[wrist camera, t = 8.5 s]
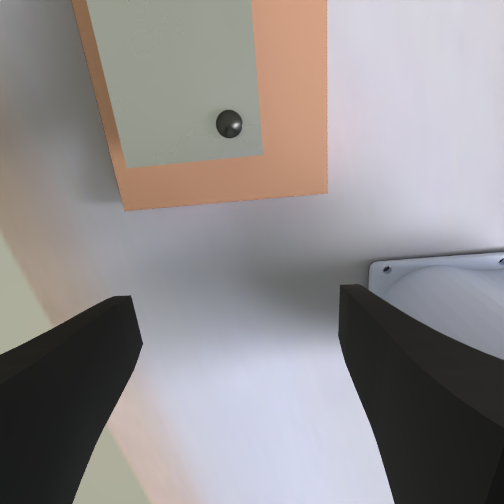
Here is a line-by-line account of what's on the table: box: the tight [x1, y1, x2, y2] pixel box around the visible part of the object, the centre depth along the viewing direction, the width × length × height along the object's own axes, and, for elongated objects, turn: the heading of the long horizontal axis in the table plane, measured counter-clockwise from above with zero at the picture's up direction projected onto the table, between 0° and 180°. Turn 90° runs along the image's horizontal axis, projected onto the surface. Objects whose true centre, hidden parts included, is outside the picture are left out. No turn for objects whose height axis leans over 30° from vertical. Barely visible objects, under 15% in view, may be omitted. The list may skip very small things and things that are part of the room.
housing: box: [86, 0, 263, 168], centre depth 11 cm, size 7×4×6 cm, turn 5°
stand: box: [71, 0, 327, 211], centre depth 15 cm, size 11×12×2 cm
